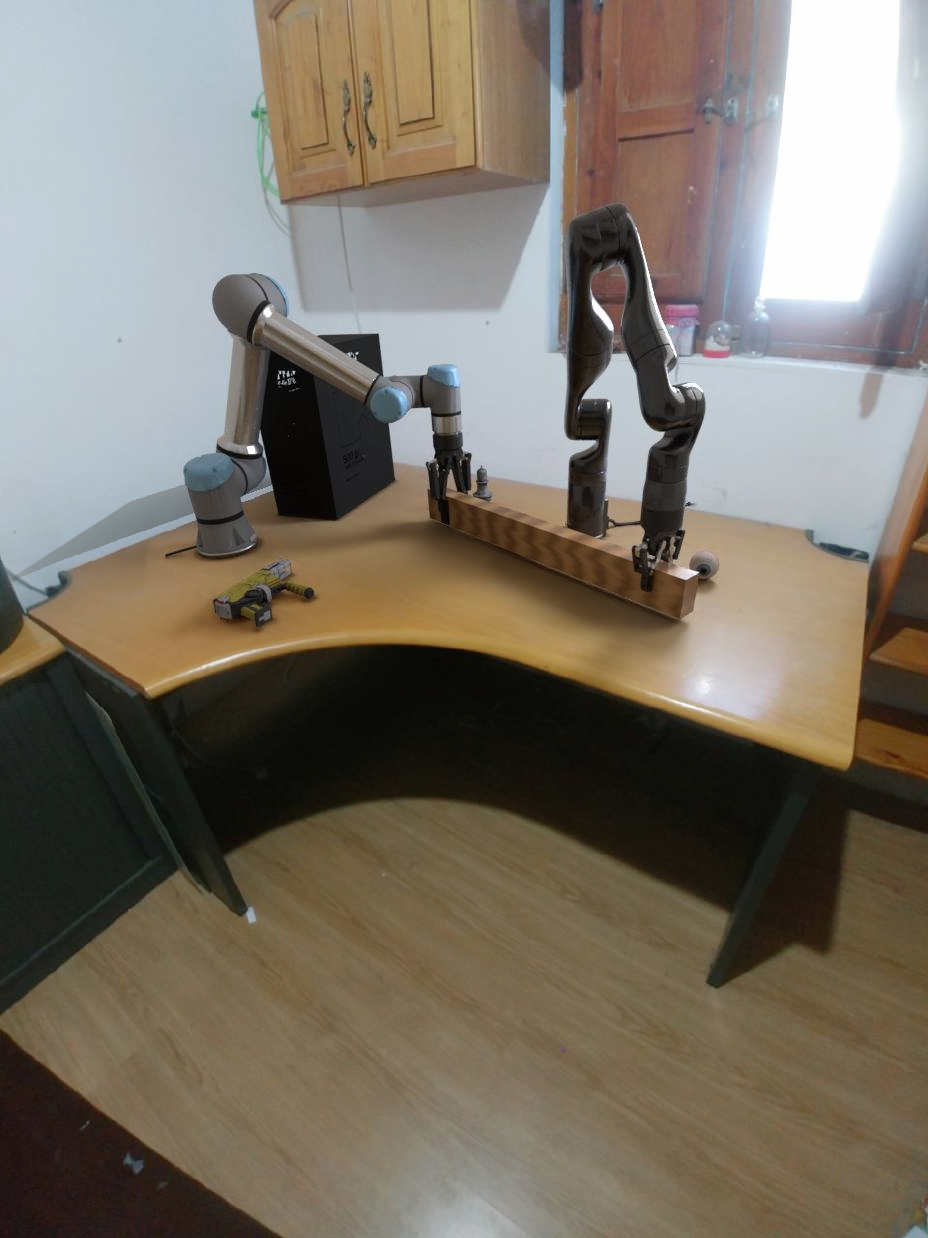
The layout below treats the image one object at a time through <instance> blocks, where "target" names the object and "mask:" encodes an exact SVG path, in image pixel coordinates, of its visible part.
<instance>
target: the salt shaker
mask: <svg viewBox="0 0 928 1238" xmlns="http://www.w3.org/2000/svg"><path fill="white" fill-rule="evenodd" d="M475 482H476V491H474V492H473V493H472V496H473V497H476V498H479V499H482V500H485V501H488V502H491V500H492V496H493V495H494V493H493V492H492V491H490V490H489V488H488V486H489V485H488V482H489V480H488V471H487V469H486V468H484V467H483V464H482V465H480V468H477V470H476V480H475Z"/></svg>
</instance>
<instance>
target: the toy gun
mask: <svg viewBox="0 0 928 1238" xmlns="http://www.w3.org/2000/svg"><path fill="white" fill-rule="evenodd" d="M288 567H290V570H289V571H288V570H287V568H288ZM292 568H293V567H292V562H291V560H290V559H285V560H284V558H278V559H277V560H275V561H273V562H272V563H271V564H268V565H267V566H266V567H262V568H260V569H259V570H258V571H256V572H255V573H253V574H251V575H250V576H248V577H245V579H242V580H241V581H240V582H238V583H237V584H235V585H233V586H232V587H230V588H228V589H226V590H225V591H223V592H222V593H220V594H219V595H217V596H215V597H214V598H213V599H212V604H213V612H214V614H215V615H216V616H217V617H218V618H219V620H221V621H222V620H223V621H225V622H226V621H228V620H232V621H235V620H241V619H244V618H247V619H250V620H251V621H253V622H255V627H256V628H260V627H262V626H263V625H265V624H267V623H268V622H269V623H270V622H271V621H272V620H273V619H274V618H273V611H272V610H273V609H272V606H271V605H270V603H272V600H273V599H272V597H274V596H277V595H278V594H280V593H282V592H283V591H287V592H290V593H292V594H295V595H298V596H299V597H304V598H305V599H307V600H310V599H312V598H313V597H314V596H315V590H314V588H313V587H310V586H306V585H304V584H303V585H302V584H301V583H298V582H295V581H293V580H290V579H289V580H286V581H285V582H282V580H285V579H286V578H287V577H288V576H290V575H292V574H293V569H292Z"/></svg>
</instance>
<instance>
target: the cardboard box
mask: <svg viewBox="0 0 928 1238" xmlns="http://www.w3.org/2000/svg"><path fill="white" fill-rule="evenodd" d="M316 336H317V337H319V338H320V339H322V340H324V341H325V342H327V343H329V344H330V345H332V346H334V347H335V348H337V349H339V350H340V351H342V352H343V353H345V354H347V355H348V356H350V357H352V358H353V359H355V360H357V361H358V362H360V363H362V364H363V365H365V366H367V367H368V368H370V369H371V370H373V371H375V372H376V373H378V374H379V375H381V376H383V377H385V376H384V367H383V358H382V350H381V349H382V348H381V341H380V333H343V334H342V333H340V334H339V333H337V334H319V335H316ZM390 430H391V429H390V423H383V422H381V421H379V420H378V419H377V418H376V417H375V416H374V415H373V413H372V411H371V409H369V408H368V407H366V406H364V405H363V404H361V403H359V402H358V401H356V400H354V399H353V398H351V397H349V396H348V395H346V394H344V393H343V392H341V391H339V390H337V389H336V388H334V387H332V386H331V385H329V384H327V383H326V382H324V381H322V380H321V379H319V378H317V377H316V376H314V375H312V374H310V373H309V372H307V371H305V370H304V369H302V368H300V367H299V366H297V365H295V364H294V363H292V362H290V361H289V360H287V359H285V358H283V357H282V356H280V355H278V354H277V353H275V352H273V351H272V350H270V356H269V364H268V372H267V379H266V387H265V395H264V402H263V410H262V418H261V425H260V436H261V441H262V446H263V451H264V454H265V460H266V465H267V470H268V473H269V477H270V482H271V487H272V492H273V496H274V497H273V498H274V501H275V506H276V510H277V514H278V515H280V516H292V517H303V518H312V519H313V518H314V519H324V520H335V521H336V520H339V519H340V518H342V517H344V516H345V515H346V514H348V513H350V512H351V511H352V510H354V509H356V508H357V507H358V506H360V505H361V504H363V503H364V502H365V501H367V500H368V499H370V498H372V497H373V496H374V495H376V494H377V493H379V492H380V491H382V490H384V489H385V488H387V486H389V485H390V484H392V483H394V482H395V481H396V476H395V468H394V467H395V466H394V459H393V449H392V448H393V447H392V440H391V431H390Z"/></svg>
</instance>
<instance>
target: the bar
mask: <svg viewBox="0 0 928 1238" xmlns="http://www.w3.org/2000/svg"><path fill="white" fill-rule="evenodd" d="M426 490H427V491H426V492H427V504H428V514H429V519H431V520H433V521H434V522H435V521H436V522H437V523H441V512H439V511H438V501H437V500H434V499H431V497H430V488H427V489H426ZM445 500H448V506H449V521H450V524H449V525H446V524H444V523H441V524H443V525H446V526H448V527H451V528H453V529H456V530H458V531H460V532H463V533H466V534H468V535H470V536H473V537H475V538H478V539H480V540H483V541H485V542H487V543H490V544H492V545H495V546H497V547H500V548H502V549H505V550H507V551H509V552H512V553H515V554H517V555H520V556H522V557H525V558H527V559H530V560H532V561H534V562H536V563H539V564H542V565H545V566H547V567H549V568H552V569H553V570H556V571H559V572H562V573H564V574H567V575H569V576H572V577H574V578H577V579H579V580H582V581H584V582H586V583H589V584H591V585H594V586H596V587H599V588H601V589H604V590H606V591H609V592H611V593H613V594H617V595H619V596H621V597H623V598H626V599H628V600H631V601H633V602H636V603H638V604H641V605H644V606H646V607H648V608H651V609H653V610H656V611H658V612H661V613H663V614H666V615H668V616H671V617H673V618H676V619H678V620H681V619H683V618H685V617H686V616H687V615H690V614H691V613H693V612H694V609H695V602H696V597H697V592H698V591H697V590H698V584H699V579H700V578H699V572H696V571H693V570H690V568H688V567H684V566H681V565H678V564H675V563H674V562H673V563H670V562H667V561H664V560H661V559H660V562H659V563H658V564H656V567H655V570H654V573H653V574H654V578H653V587H652V591H650V592H646V591H643V590H641V588H640V584H641V574H640V573H637V572H634V567H633V558H632V548H631V549H630V548H628V547H625V546H622V545H618V544H616V543H613V542H610V541H607V540H604V539H602V538H600V539H598V538H595V537H592V536H589V535H586V534H583V533H580V532H577V531H574V530H571V529H568V528H566V527H565V526H562V525H560V524H556V523H553V522H550V521H547V520H545V519H542V518H538V517H535V516H532V515H529V514H527V513H524V512H521V511H518V510H515V509H512V508H509V507H505V506H502V505H500V504H496V503H494V502H491V501H489V502H488V501H485V500H482V499H479V498H476V497H474V496H473V495H470V494H468V495H467V494H464V493H461V492H458V491H457V490H456V489H452V488H449V487H447V490H446V499H445ZM648 557H651V558H655V556H651V555H649V554H648ZM650 564H651V563H650V562H648V568H650ZM640 566H641V565H640Z"/></svg>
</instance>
